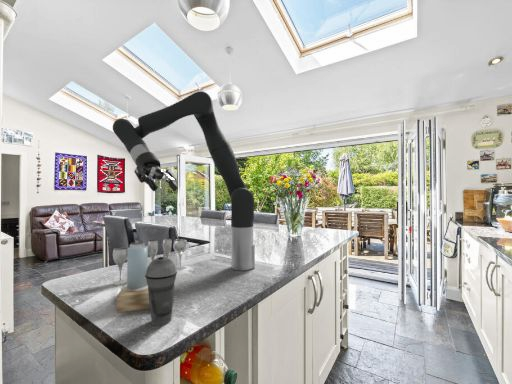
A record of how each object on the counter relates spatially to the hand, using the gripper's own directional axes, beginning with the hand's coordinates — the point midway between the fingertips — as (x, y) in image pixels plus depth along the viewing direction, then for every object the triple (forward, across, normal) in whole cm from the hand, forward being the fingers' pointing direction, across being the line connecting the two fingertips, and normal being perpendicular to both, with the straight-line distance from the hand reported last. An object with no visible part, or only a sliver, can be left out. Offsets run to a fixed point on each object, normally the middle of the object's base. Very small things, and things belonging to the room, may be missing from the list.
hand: (166, 189), depth 88 cm
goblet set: (+15, +4, +32) cm, 35 cm away
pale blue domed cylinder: (+23, -14, +17) cm, 32 cm away
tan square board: (+27, -12, +20) cm, 35 cm away
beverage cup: (+37, -18, +9) cm, 42 cm away
